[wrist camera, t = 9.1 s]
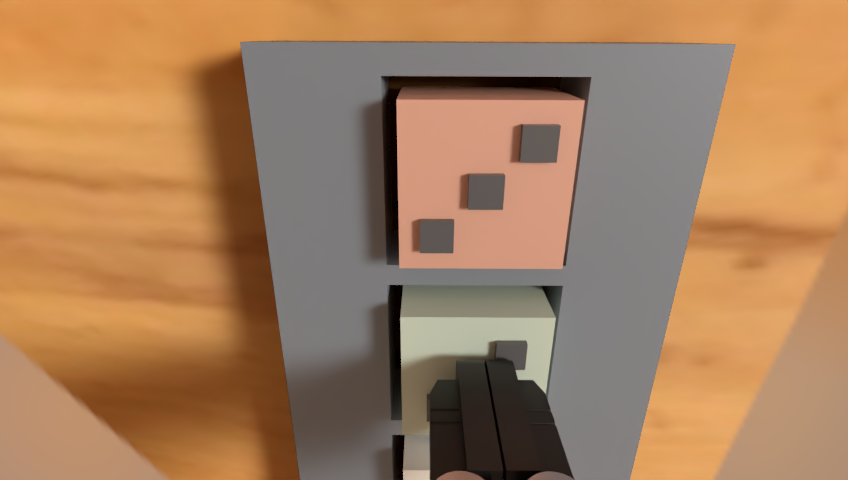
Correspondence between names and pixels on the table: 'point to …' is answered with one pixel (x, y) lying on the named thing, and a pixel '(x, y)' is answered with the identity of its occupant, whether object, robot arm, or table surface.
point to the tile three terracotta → (485, 176)
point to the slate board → (564, 288)
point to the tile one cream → (416, 457)
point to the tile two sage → (469, 338)
